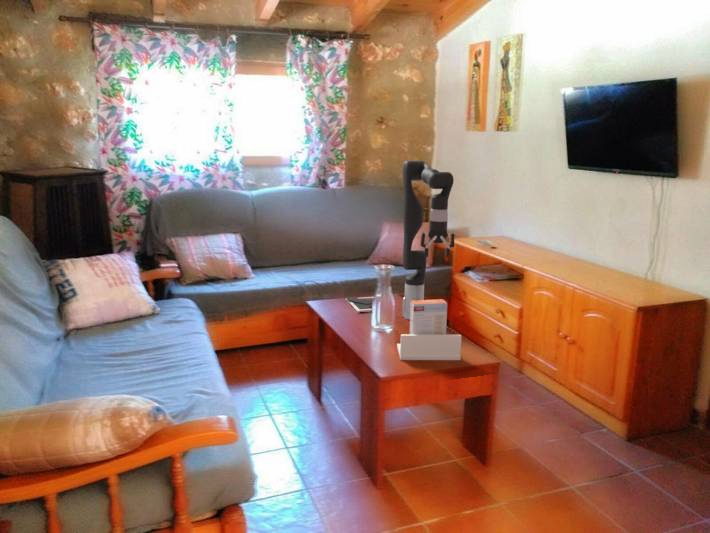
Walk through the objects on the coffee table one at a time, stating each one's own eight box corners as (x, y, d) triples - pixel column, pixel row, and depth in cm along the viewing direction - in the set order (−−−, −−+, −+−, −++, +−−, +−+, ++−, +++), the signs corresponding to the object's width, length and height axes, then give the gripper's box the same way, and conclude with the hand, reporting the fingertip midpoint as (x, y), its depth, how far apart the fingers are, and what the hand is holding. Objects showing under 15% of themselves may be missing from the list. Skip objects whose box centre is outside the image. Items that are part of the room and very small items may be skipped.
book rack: (397, 346, 246) (397, 324, 244) (453, 347, 247) (454, 324, 245) (400, 360, 233) (401, 336, 230) (460, 360, 233) (461, 336, 231)
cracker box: (441, 346, 243) (443, 298, 238) (445, 351, 238) (448, 302, 233) (408, 347, 241) (410, 299, 236) (411, 353, 235) (414, 303, 231)
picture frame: (345, 302, 308) (357, 314, 289) (345, 297, 308) (357, 309, 288) (373, 300, 313) (387, 312, 294) (374, 295, 312) (387, 306, 293)
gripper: (453, 218, 252) (451, 254, 256) (420, 217, 251) (419, 254, 255) (457, 221, 245) (454, 258, 248) (423, 220, 244) (421, 258, 248)
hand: (436, 256), depth 252 cm, fingers open, 8 cm apart
